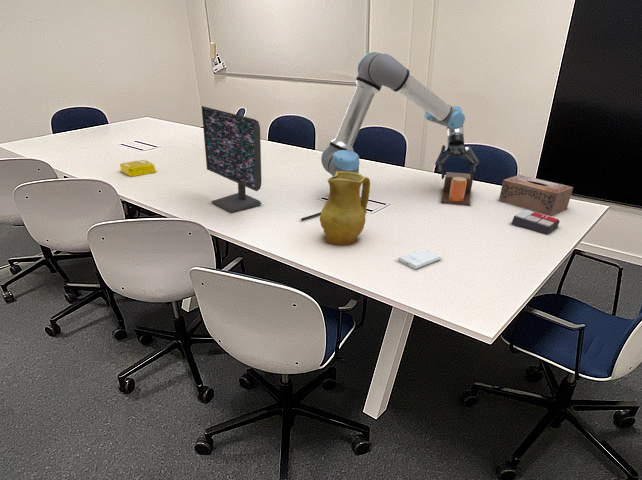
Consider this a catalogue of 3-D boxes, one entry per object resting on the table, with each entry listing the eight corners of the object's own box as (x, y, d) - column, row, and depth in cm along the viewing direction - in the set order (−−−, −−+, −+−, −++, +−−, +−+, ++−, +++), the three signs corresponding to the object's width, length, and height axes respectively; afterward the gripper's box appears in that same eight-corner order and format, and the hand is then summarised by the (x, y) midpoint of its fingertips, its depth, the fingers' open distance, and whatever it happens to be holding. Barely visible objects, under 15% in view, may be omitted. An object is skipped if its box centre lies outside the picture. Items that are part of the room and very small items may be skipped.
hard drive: (440, 260, 157) (415, 269, 151) (422, 252, 163) (398, 260, 157) (440, 256, 157) (416, 265, 150) (423, 248, 162) (398, 256, 156)
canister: (463, 202, 207) (467, 181, 202) (448, 200, 209) (451, 180, 204) (463, 197, 213) (467, 177, 208) (448, 196, 215) (452, 176, 209)
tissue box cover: (566, 208, 203) (573, 187, 198) (551, 215, 196) (557, 193, 190) (514, 194, 220) (519, 174, 215) (498, 200, 213) (503, 179, 207)
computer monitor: (198, 196, 216) (186, 107, 195) (227, 189, 225) (219, 104, 204) (246, 221, 188) (238, 121, 167) (277, 213, 197) (273, 116, 176)
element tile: (120, 171, 253) (118, 162, 250) (145, 166, 261) (144, 158, 259) (130, 177, 243) (128, 168, 241) (156, 172, 252) (155, 163, 249)
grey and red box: (550, 226, 176) (514, 214, 184) (546, 235, 178) (511, 224, 187) (560, 218, 182) (525, 208, 191) (557, 228, 185) (522, 217, 193)
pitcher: (317, 229, 180) (320, 167, 166) (362, 230, 182) (370, 169, 168) (319, 248, 166) (324, 182, 152) (369, 249, 167) (378, 184, 154)
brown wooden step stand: (469, 205, 206) (473, 187, 202) (441, 203, 209) (443, 185, 205) (469, 190, 226) (473, 174, 221) (443, 188, 229) (446, 171, 224)
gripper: (479, 142, 217) (481, 182, 212) (427, 142, 217) (429, 181, 212) (484, 133, 209) (487, 174, 204) (431, 132, 210) (432, 173, 205)
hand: (457, 178), depth 208 cm, fingers open, 13 cm apart
